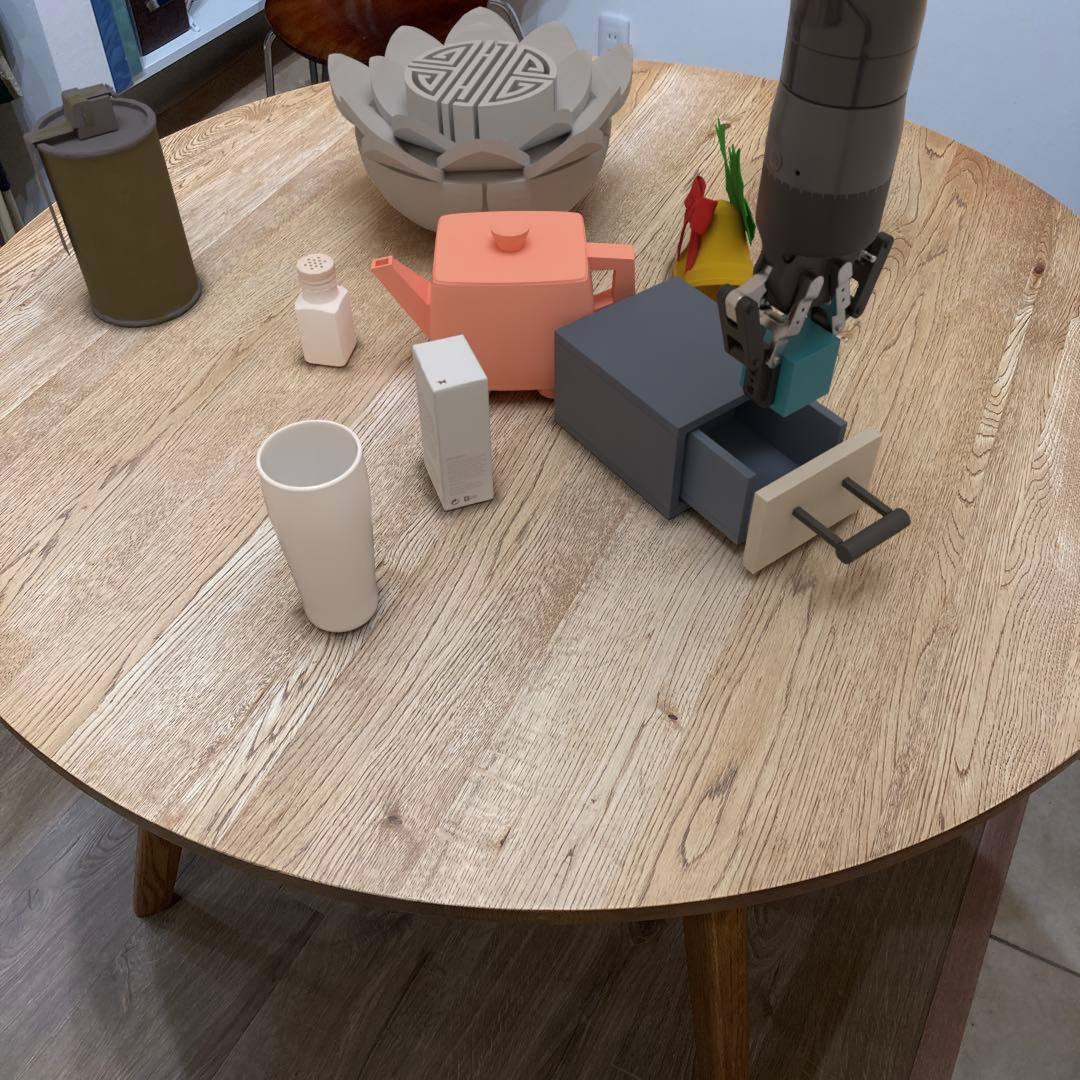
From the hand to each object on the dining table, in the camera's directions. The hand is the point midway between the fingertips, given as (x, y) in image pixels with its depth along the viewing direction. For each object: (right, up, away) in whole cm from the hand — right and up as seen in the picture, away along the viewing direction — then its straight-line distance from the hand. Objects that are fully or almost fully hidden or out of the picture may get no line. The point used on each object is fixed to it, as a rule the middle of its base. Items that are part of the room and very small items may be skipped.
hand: (785, 386), depth 77 cm
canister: (-55, +13, +30) cm, 64 cm away
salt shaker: (-36, +6, +24) cm, 43 cm away
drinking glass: (-31, -16, +3) cm, 35 cm away
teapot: (-20, +5, +22) cm, 30 cm away
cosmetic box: (-24, -6, +12) cm, 27 cm away
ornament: (-1, +15, +32) cm, 35 cm away
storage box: (-6, -2, +15) cm, 17 cm away
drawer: (+1, -8, +8) cm, 11 cm away
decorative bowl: (-24, +24, +41) cm, 53 cm away
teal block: (0, 0, 0) cm, 0 cm away
